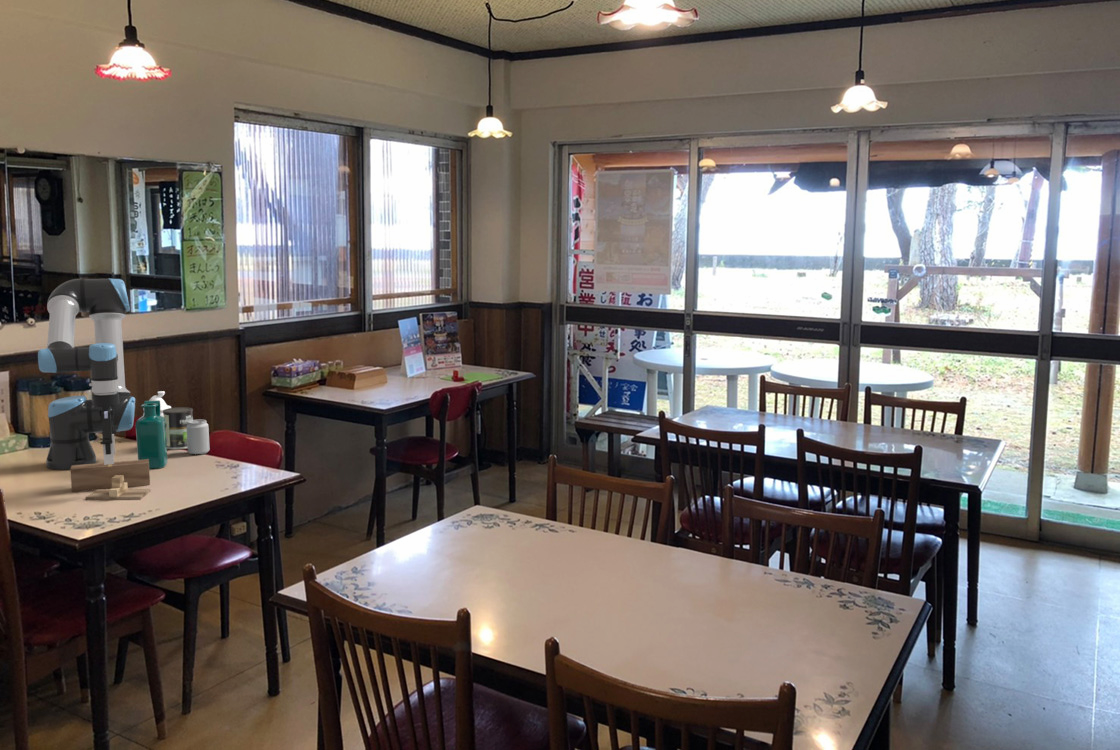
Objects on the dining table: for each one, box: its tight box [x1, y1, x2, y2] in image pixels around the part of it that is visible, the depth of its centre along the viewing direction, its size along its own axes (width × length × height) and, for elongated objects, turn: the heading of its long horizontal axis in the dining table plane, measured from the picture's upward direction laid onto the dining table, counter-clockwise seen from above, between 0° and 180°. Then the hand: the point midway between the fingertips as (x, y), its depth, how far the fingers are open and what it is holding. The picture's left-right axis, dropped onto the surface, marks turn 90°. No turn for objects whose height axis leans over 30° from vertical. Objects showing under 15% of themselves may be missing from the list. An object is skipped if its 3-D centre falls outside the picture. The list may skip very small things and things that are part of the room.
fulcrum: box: [85, 475, 152, 501], centre depth 272 cm, size 8×16×6 cm, turn 95°
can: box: [186, 419, 211, 456], centre depth 324 cm, size 8×8×12 cm
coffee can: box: [163, 406, 194, 450], centre depth 332 cm, size 10×10×14 cm
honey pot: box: [141, 390, 172, 417], centre depth 346 cm, size 13×13×18 cm
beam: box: [69, 459, 151, 493], centre depth 281 cm, size 5×22×8 cm, turn 114°
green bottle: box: [135, 400, 169, 470], centre depth 305 cm, size 10×8×22 cm
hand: (110, 459), depth 280 cm, fingers open, 13 cm apart
